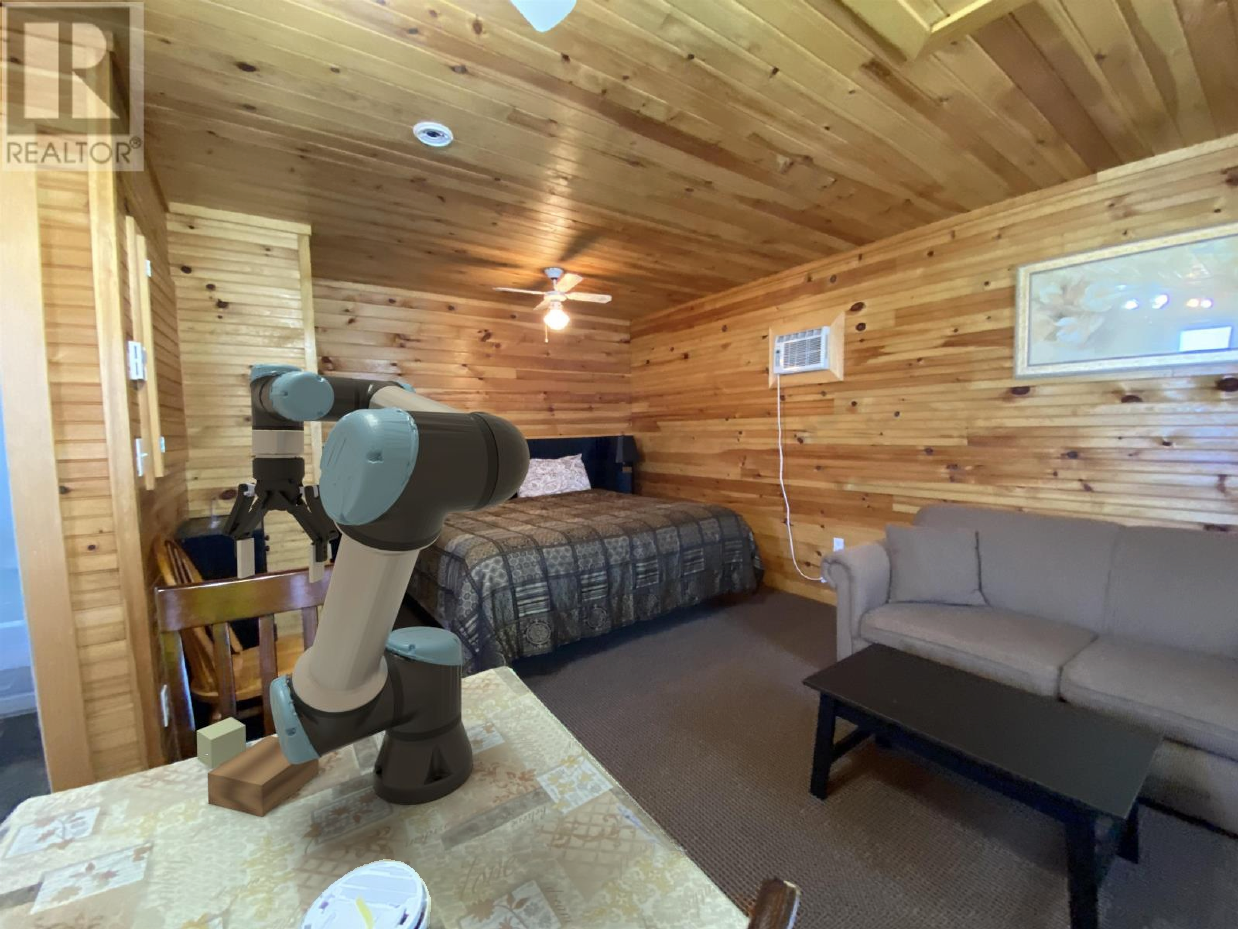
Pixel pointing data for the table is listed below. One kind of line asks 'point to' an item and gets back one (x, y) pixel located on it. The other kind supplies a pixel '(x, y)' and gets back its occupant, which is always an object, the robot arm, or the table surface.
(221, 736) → the sage block
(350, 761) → the table surface
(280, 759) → the walnut block
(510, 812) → the table surface
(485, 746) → the table surface
